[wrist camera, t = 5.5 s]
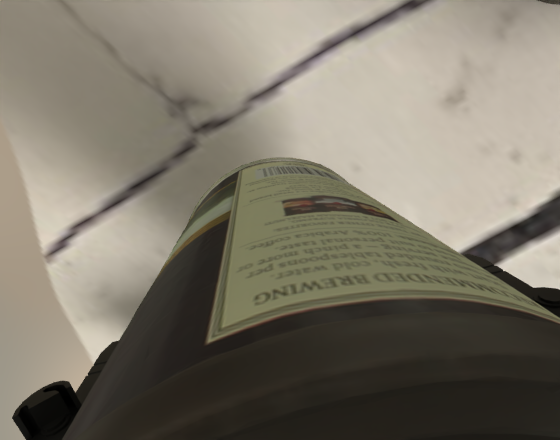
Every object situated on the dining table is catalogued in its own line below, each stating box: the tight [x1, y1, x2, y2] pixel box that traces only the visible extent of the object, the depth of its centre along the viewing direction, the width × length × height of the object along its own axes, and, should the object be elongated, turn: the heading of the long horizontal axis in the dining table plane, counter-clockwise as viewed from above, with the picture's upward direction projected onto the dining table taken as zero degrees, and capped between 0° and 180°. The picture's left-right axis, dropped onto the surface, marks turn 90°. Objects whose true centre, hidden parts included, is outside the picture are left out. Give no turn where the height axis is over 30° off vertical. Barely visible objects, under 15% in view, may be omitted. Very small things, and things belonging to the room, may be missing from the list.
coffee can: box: [62, 158, 560, 440], centre depth 11 cm, size 10×10×14 cm
